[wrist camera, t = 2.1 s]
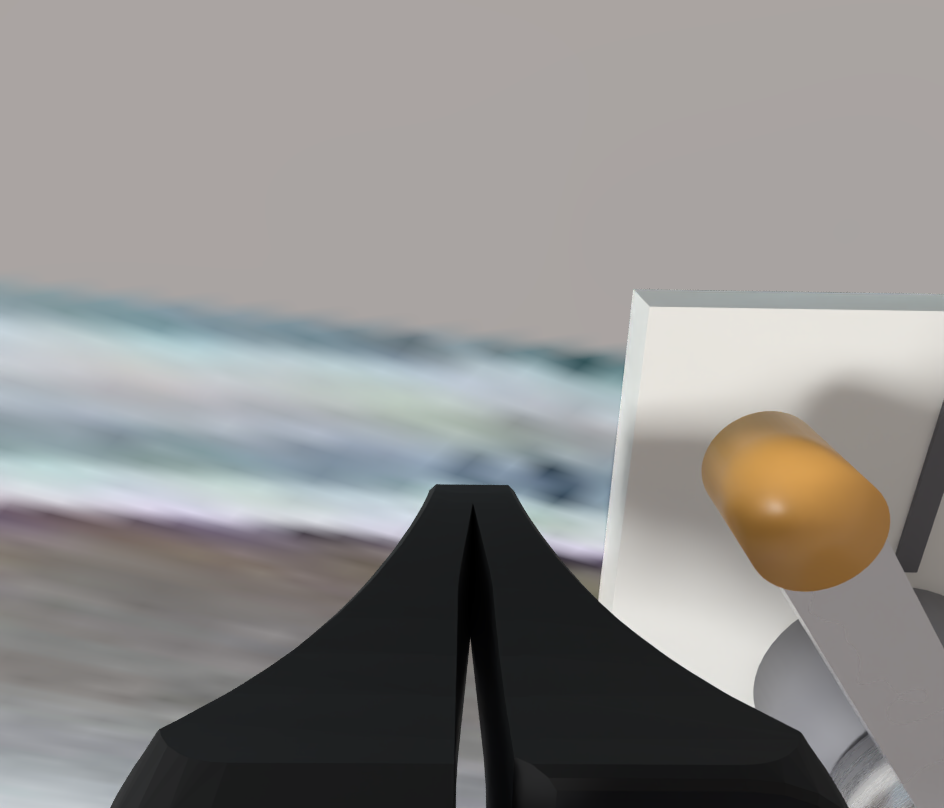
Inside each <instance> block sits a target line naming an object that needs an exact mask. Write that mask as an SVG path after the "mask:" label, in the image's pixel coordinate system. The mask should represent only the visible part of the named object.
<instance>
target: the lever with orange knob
mask: <svg viewBox="0 0 944 808" xmlns="http://www.w3.org/2000/svg"><path fill="white" fill-rule="evenodd" d="M702 481H703V484H704V487H705V489H706V491H707V493H708V495H709V496H710V498H711V500H712V501H713V503H714V504H715V506H716V508H717V509H718V511H719V512H720V514H721V516H722V517H723V519H724V520H725V522H726V523H727V525H728V527H729V528H730V530H731V531H732V533H733V535H734V536H735V538H736V539H737V541H738V543H739V544H740V546H741V547H742V549H743V550H744V552H745V554H746V555H747V557H748V558H749V560H750V562H751V563H752V565H753V566H754V568H755V569H756V571H757V572H758V573H759V574H760V575H761V576H762V577H763V578H764V579H765V580H767V581H768V582H770V583H771V584H773V585H775V586H778V587H779V588H780V590H781V592H782V593H783V595H784V596H785V598H786V600H787V601H788V603H789V605H790V606H791V608H792V610H793V611H794V613H795V614H796V616H797V618H798V619H799V621H800V623H801V624H802V626H803V628H804V629H805V631H806V632H807V634H808V636H809V637H810V639H811V641H812V642H813V644H814V646H815V647H816V649H817V650H818V652H819V654H820V655H821V657H822V659H823V660H824V662H825V664H826V665H827V667H828V668H829V670H830V672H831V673H832V675H833V677H834V678H835V680H836V682H837V683H838V685H839V686H840V688H841V690H842V691H843V693H844V695H845V696H846V698H847V700H848V701H849V703H850V704H851V706H852V708H853V709H854V711H855V713H856V714H857V716H858V718H859V719H860V721H861V722H862V724H863V726H864V727H865V729H866V731H867V732H868V734H869V735H868V736H866V737H865V738H864V739H862V740H861V741H859V742H858V743H857V744H856V745H855V746H854V747H853V748H852V749H851V750H849V751H848V752H847V753H846V754H845V755H844V757H843V758H842V759H841V760H840V761H839V762H838V764H837V765H836V766H835V768H834V769H833V771H832V772H831V774H830V776H831V778H832V779H833V781H834V783H835V784H836V786H837V788H838V789H839V791H840V793H841V794H842V796H843V798H844V800H845V802H846V804H847V805H848V807H849V808H944V648H943V646H942V644H941V642H940V640H939V638H938V636H937V634H936V632H935V631H934V629H933V627H932V625H931V623H930V621H929V619H928V617H927V615H926V613H925V611H924V609H923V607H922V605H921V603H920V601H919V599H918V598H917V596H916V594H915V592H914V590H913V588H912V586H911V584H910V582H909V580H908V578H907V576H906V574H905V572H904V570H903V568H902V567H901V565H900V563H899V561H898V559H897V557H896V555H895V553H894V551H893V549H892V547H891V545H890V543H889V541H888V539H887V537H888V533H889V529H890V512H889V507H888V505H887V502H886V500H885V499H884V497H883V495H882V494H881V493H880V492H879V490H878V489H877V488H876V487H875V486H874V485H872V484H871V483H870V482H869V481H868V480H867V479H866V478H865V477H864V476H863V475H862V474H861V473H859V472H858V471H857V470H856V469H855V468H854V467H853V466H852V465H851V464H850V463H849V462H848V461H846V460H845V459H844V458H843V457H842V456H841V455H840V454H839V453H838V452H837V451H836V450H835V449H833V448H832V447H831V446H830V445H829V444H828V443H827V442H826V441H825V440H824V439H823V438H822V437H820V436H819V435H818V434H817V433H816V432H815V431H814V430H813V429H812V428H811V427H810V426H809V425H807V424H806V423H805V422H804V421H803V420H801V419H799V418H798V417H796V416H793V415H791V414H788V413H784V412H778V411H763V412H757V413H753V414H749V415H746V416H744V417H741V418H739V419H737V420H735V421H734V422H732V423H730V424H729V425H727V426H726V427H725V428H724V429H722V430H721V431H720V432H719V433H718V434H717V435H716V437H715V438H714V439H713V440H712V442H711V443H710V445H709V447H708V448H707V450H706V453H705V455H704V458H703V462H702Z"/></svg>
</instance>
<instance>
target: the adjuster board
mask: <svg viewBox="0 0 944 808" xmlns="http://www.w3.org/2000/svg"><path fill="white" fill-rule="evenodd" d="M763 411H778V412H784V413H788V414H791V415H793V416H796V417H798V418H799V419H801V420H803V421H804V422H805V423H806V424H807V425H809V426H810V427H811V428H812V429H813V430H814V431H815V432H816V433H817V434H818V435H819V436H820V437H822V438H823V439H824V440H825V441H826V442H827V443H828V444H829V445H830V446H831V447H832V448H833V449H835V450H836V451H837V452H838V453H839V454H840V455H841V456H842V457H843V458H844V459H845V460H846V461H848V462H849V463H850V464H851V465H852V466H853V467H854V468H855V469H856V470H857V471H858V472H859V473H861V474H862V475H863V476H864V477H865V478H866V479H867V480H868V481H869V482H870V483H871V484H872V485H874V486H875V487H876V488H877V489H878V490H879V492H880V493H881V494H882V495H883V497H884V499H885V500H886V502H887V505H888V507H889V512H890V529H889V533H888V537H887V539H888V541H889V543H890V545H891V547H892V549H893V551H894V553H895V555H896V557H897V559H898V561H899V563H900V565H901V567H902V568H903V570H904V572H905V574H906V576H907V578H908V580H909V582H910V584H911V586H912V588H913V590H914V592H915V594H916V596H917V598H918V599H919V601H920V603H921V605H922V607H923V609H924V611H925V613H926V615H927V617H928V619H929V621H930V623H931V625H932V627H933V629H934V631H935V632H936V634H937V636H938V638H939V640H940V642H941V644H942V646H943V648H944V294H904V293H842V292H840V293H838V292H777V291H776V292H775V291H717V290H716V291H715V290H653V289H633V297H632V307H631V315H630V323H629V332H628V341H627V350H626V359H625V368H624V377H623V386H622V395H621V403H620V412H619V421H618V430H617V439H616V448H615V457H614V466H613V475H612V483H611V492H610V501H609V510H608V519H607V528H606V537H605V546H604V555H603V564H602V572H601V581H600V590H599V599H598V601H599V602H600V603H601V604H602V605H603V606H604V607H606V608H607V609H608V610H609V611H610V612H611V613H612V614H613V615H614V616H615V617H617V618H618V619H619V620H620V621H621V622H623V623H624V624H625V625H626V626H627V627H629V628H630V629H631V630H632V631H634V632H635V633H636V634H638V635H639V636H640V637H642V638H643V639H644V640H646V641H647V642H648V643H650V644H651V645H652V646H654V647H655V648H656V649H658V650H659V651H660V652H662V653H663V654H665V655H666V656H667V657H669V658H670V659H672V660H673V661H675V662H676V663H678V664H679V665H681V666H682V667H684V668H685V669H687V670H688V671H690V672H692V673H693V674H695V675H697V676H698V677H700V678H702V679H703V680H705V681H707V682H708V683H710V684H711V685H713V686H715V687H716V688H718V689H720V690H721V691H723V692H725V693H726V694H728V695H730V696H732V697H734V698H736V699H738V700H740V701H742V702H743V703H745V704H747V705H749V706H751V707H753V708H755V709H757V710H759V711H761V712H763V713H765V714H767V715H769V716H771V717H773V718H775V719H777V720H779V721H781V722H783V723H784V724H786V725H788V726H790V727H792V728H794V729H796V730H798V731H800V732H801V733H802V734H803V736H804V737H805V739H806V740H807V742H808V744H809V745H810V747H811V748H812V750H813V751H814V752H815V754H816V755H817V757H818V758H819V760H820V761H821V762H822V764H823V765H824V767H825V768H826V770H827V771H828V773H829V774H831V772H832V771H833V769H834V768H835V766H836V765H837V764H838V762H839V761H840V760H841V759H842V758H843V757H844V755H845V754H846V753H847V752H848V751H849V750H851V749H852V748H853V747H854V746H855V745H856V744H857V743H858V742H859V741H861V740H862V739H864V738H865V737H866V736H868V735H869V734H868V732H867V731H866V729H865V727H864V726H863V724H862V722H861V721H860V719H859V718H858V716H857V714H856V713H855V711H854V709H853V708H852V706H851V704H850V703H849V701H848V700H847V698H846V696H845V695H844V693H843V691H842V690H841V688H840V686H839V685H838V683H837V682H836V680H835V678H834V677H833V675H832V673H831V672H830V670H829V668H828V667H827V665H826V664H825V662H824V660H823V659H822V657H821V655H820V654H819V652H818V650H817V649H816V647H815V646H814V644H813V642H812V641H811V639H810V637H809V636H808V634H807V632H806V631H805V629H804V628H803V626H802V624H801V623H800V621H799V619H798V618H797V616H796V614H795V613H794V611H793V610H792V608H791V606H790V605H789V603H788V601H787V600H786V598H785V596H784V595H783V593H782V592H781V590H780V588H779V587H778V586H775V585H773V584H771V583H770V582H768V581H767V580H765V579H764V578H763V577H762V576H761V575H760V574H759V573H758V572H757V571H756V569H755V568H754V566H753V565H752V563H751V562H750V560H749V558H748V557H747V555H746V554H745V552H744V550H743V549H742V547H741V546H740V544H739V543H738V541H737V539H736V538H735V536H734V535H733V533H732V531H731V530H730V528H729V527H728V525H727V523H726V522H725V520H724V519H723V517H722V516H721V514H720V512H719V511H718V509H717V508H716V506H715V504H714V503H713V501H712V500H711V498H710V496H709V495H708V493H707V491H706V489H705V487H704V484H703V481H702V462H703V458H704V455H705V453H706V450H707V448H708V447H709V445H710V443H711V442H712V440H713V439H714V438H715V437H716V435H717V434H718V433H719V432H720V431H721V430H722V429H724V428H725V427H726V426H727V425H729V424H730V423H732V422H734V421H735V420H737V419H739V418H741V417H744V416H746V415H749V414H753V413H757V412H763Z"/></svg>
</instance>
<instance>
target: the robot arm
mask: <svg viewBox="0 0 944 808" xmlns="http://www.w3.org/2000/svg"><path fill="white" fill-rule="evenodd" d="M470 638H471V647H472V656H473V665H474V675H475V683H476V692H477V701H478V710H479V719H480V728H481V737H482V746H483V754H484V767H485V781H486V808H849V807H848V805H847V804H846V802H845V800H844V798H843V796H842V794H841V793H840V791H839V789H838V788H837V786H836V784H835V783H834V781H833V779H832V778H831V776H830V774H829V773H828V771H827V770H826V768H825V767H824V765H823V764H822V762H821V761H820V760H819V758H818V757H817V755H816V754H815V752H814V751H813V750H812V748H811V747H810V745H809V744H808V742H807V740H806V739H805V737H804V736H803V734H802V733H801V732H800V731H798V730H796V729H794V728H792V727H790V726H788V725H786V724H784V723H783V722H781V721H779V720H777V719H775V718H773V717H771V716H769V715H767V714H765V713H763V712H761V711H759V710H757V709H755V708H753V707H751V706H749V705H747V704H745V703H743V702H742V701H740V700H738V699H736V698H734V697H732V696H730V695H728V694H726V693H725V692H723V691H721V690H720V689H718V688H716V687H715V686H713V685H711V684H710V683H708V682H707V681H705V680H703V679H702V678H700V677H698V676H697V675H695V674H693V673H692V672H690V671H688V670H687V669H685V668H684V667H682V666H681V665H679V664H678V663H676V662H675V661H673V660H672V659H670V658H669V657H667V656H666V655H665V654H663V653H662V652H660V651H659V650H658V649H656V648H655V647H654V646H652V645H651V644H650V643H648V642H647V641H646V640H644V639H643V638H642V637H640V636H639V635H638V634H636V633H635V632H634V631H632V630H631V629H630V628H629V627H627V626H626V625H625V624H624V623H623V622H621V621H620V620H619V619H618V618H617V617H615V616H614V615H613V614H612V613H611V612H610V611H609V610H608V609H607V608H606V607H604V606H603V605H602V604H601V603H600V602H599V601H598V600H597V599H596V598H595V597H594V596H593V595H592V594H591V593H590V592H589V591H588V590H587V589H586V588H585V587H584V586H583V585H582V584H581V583H580V581H579V580H578V579H577V578H576V577H575V576H574V575H573V574H572V572H571V571H570V570H569V569H568V568H567V567H566V566H565V564H564V563H563V562H562V561H561V560H560V558H559V557H558V556H557V555H556V553H555V552H554V551H553V549H552V548H551V547H550V546H549V544H548V543H547V542H546V540H545V539H544V538H543V536H542V535H541V534H540V532H539V531H538V529H537V528H536V527H535V525H534V524H533V522H532V521H531V519H530V518H529V516H528V515H527V513H526V511H525V510H524V508H523V507H522V505H521V503H520V501H519V500H518V498H517V496H516V494H515V492H514V491H513V490H512V489H511V488H510V487H509V485H440V484H436V485H435V486H434V487H433V488H432V489H431V490H429V493H428V496H427V498H426V500H425V502H424V504H423V506H422V508H421V509H420V511H419V513H418V514H417V516H416V518H415V519H414V521H413V523H412V524H411V526H410V527H409V529H408V530H407V532H406V533H405V534H404V536H403V537H402V539H401V540H400V542H399V543H398V545H397V546H396V547H395V549H394V550H393V551H392V553H391V554H390V555H389V557H388V558H387V559H386V560H385V561H384V563H383V564H382V565H381V566H380V568H379V569H378V570H377V571H376V572H375V574H374V575H373V576H372V577H371V578H370V580H369V581H368V582H367V583H366V584H365V585H364V586H363V587H362V588H361V590H360V591H359V592H358V593H357V594H356V595H355V596H354V597H353V598H352V599H351V600H350V601H349V602H348V603H347V604H346V605H345V606H344V607H343V608H342V609H341V610H340V611H339V612H338V613H337V614H336V615H334V616H333V617H332V618H331V619H330V620H329V621H328V622H327V623H325V624H324V625H323V626H322V627H321V628H320V629H318V630H317V631H316V632H315V633H314V634H313V635H311V636H310V637H309V638H308V639H307V640H305V641H304V642H303V643H302V644H300V645H299V646H298V647H297V648H295V649H294V650H293V651H291V652H290V653H289V654H287V655H286V656H284V657H283V658H281V659H280V660H279V661H277V662H276V663H274V664H273V665H271V666H270V667H268V668H267V669H265V670H264V671H262V672H261V673H259V674H258V675H256V676H254V677H253V678H251V679H250V680H248V681H247V682H245V683H244V684H242V685H240V686H239V687H237V688H235V689H234V690H232V691H230V692H229V693H227V694H225V695H223V696H221V697H219V698H218V699H216V700H214V701H212V702H210V703H208V704H207V705H205V706H203V707H201V708H199V709H197V710H195V711H194V712H192V713H190V714H188V715H186V716H184V717H183V718H181V719H179V720H177V721H175V722H173V723H171V724H169V725H167V726H165V727H163V728H161V729H159V730H158V731H157V733H156V734H155V736H154V737H153V739H152V741H151V742H150V744H149V745H148V747H147V749H146V750H145V752H144V753H143V755H142V756H141V758H140V759H139V760H138V762H137V763H136V765H135V766H134V768H133V769H132V771H131V772H130V774H129V776H128V777H127V779H126V781H125V782H124V784H123V785H122V787H121V789H120V790H119V792H118V794H117V796H116V798H115V799H114V801H113V803H112V805H111V807H110V808H456V778H457V762H458V751H459V741H460V732H461V722H462V712H463V703H464V693H465V684H466V674H467V664H468V655H469V645H470Z"/></svg>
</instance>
